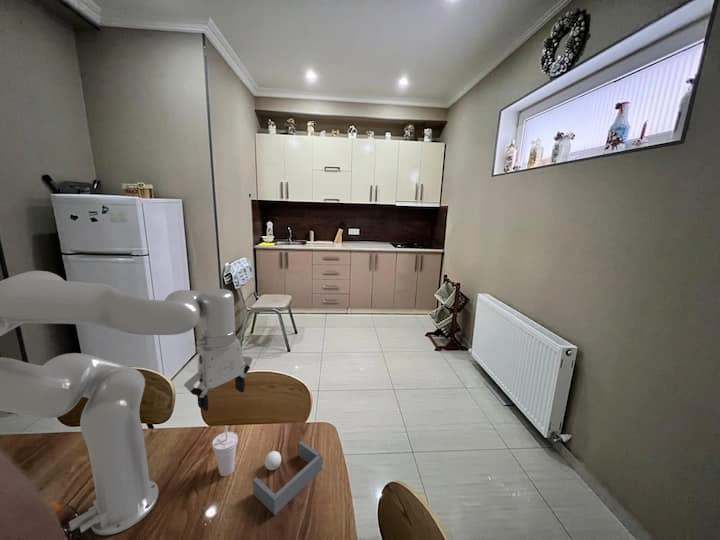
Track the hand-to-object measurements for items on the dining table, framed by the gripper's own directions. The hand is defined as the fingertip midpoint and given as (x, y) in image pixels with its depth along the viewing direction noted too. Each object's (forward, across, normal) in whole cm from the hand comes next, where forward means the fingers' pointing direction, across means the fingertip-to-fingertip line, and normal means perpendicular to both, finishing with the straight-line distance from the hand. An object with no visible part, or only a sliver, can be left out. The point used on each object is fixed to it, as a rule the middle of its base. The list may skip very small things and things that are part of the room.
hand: (222, 398), depth 75 cm
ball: (+20, +8, -9) cm, 24 cm away
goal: (+22, +8, -16) cm, 29 cm away
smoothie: (+22, 0, 0) cm, 22 cm away
